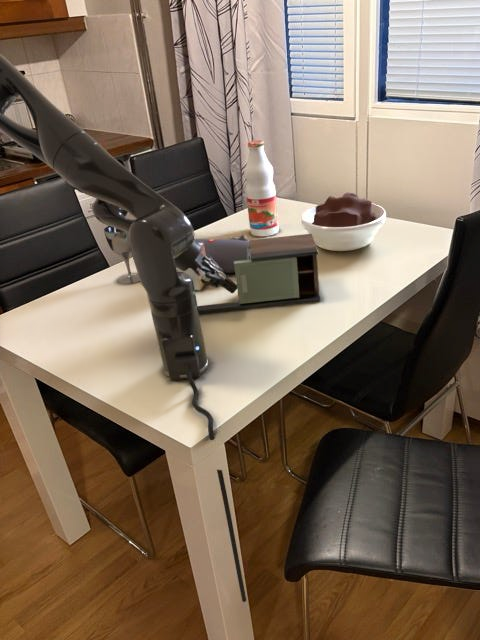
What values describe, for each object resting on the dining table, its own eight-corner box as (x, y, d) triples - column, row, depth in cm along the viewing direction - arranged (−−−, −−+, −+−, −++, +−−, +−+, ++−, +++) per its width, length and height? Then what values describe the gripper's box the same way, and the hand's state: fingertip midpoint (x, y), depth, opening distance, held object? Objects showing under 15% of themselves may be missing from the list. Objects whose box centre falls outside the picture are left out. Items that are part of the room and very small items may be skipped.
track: (320, 301, 147) (318, 251, 140) (192, 315, 146) (183, 265, 139) (319, 296, 149) (316, 247, 142) (193, 310, 148) (184, 261, 141)
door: (299, 298, 146) (296, 257, 140) (239, 304, 146) (233, 264, 140) (298, 294, 148) (295, 254, 142) (239, 301, 147) (233, 261, 142)
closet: (319, 296, 149) (316, 247, 142) (256, 303, 149) (250, 254, 142) (314, 280, 158) (311, 233, 150) (254, 287, 157) (249, 240, 150)
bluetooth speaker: (256, 233, 165) (244, 246, 157) (260, 265, 170) (248, 279, 162) (183, 231, 171) (167, 244, 163) (188, 262, 176) (173, 275, 168)
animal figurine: (260, 239, 177) (250, 249, 175) (264, 250, 181) (254, 260, 179) (231, 229, 183) (221, 239, 181) (235, 240, 187) (225, 250, 185)
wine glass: (111, 282, 167) (97, 231, 159) (129, 271, 173) (117, 221, 165) (132, 286, 164) (120, 233, 156) (150, 275, 170) (139, 224, 162)
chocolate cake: (294, 260, 171) (290, 208, 163) (311, 230, 191) (309, 183, 183) (381, 261, 165) (381, 208, 157) (389, 230, 185) (390, 181, 177)
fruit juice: (284, 228, 195) (276, 138, 179) (270, 238, 188) (261, 145, 172) (259, 226, 199) (250, 138, 183) (245, 235, 192) (234, 145, 176)
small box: (200, 291, 158) (194, 253, 152) (181, 290, 159) (173, 253, 153) (210, 278, 164) (204, 242, 158) (191, 278, 165) (184, 242, 160)
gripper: (169, 249, 145) (226, 289, 152) (164, 269, 133) (226, 312, 141) (187, 225, 142) (244, 268, 149) (184, 244, 131) (245, 289, 138)
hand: (235, 289), depth 145 cm, fingers closed
